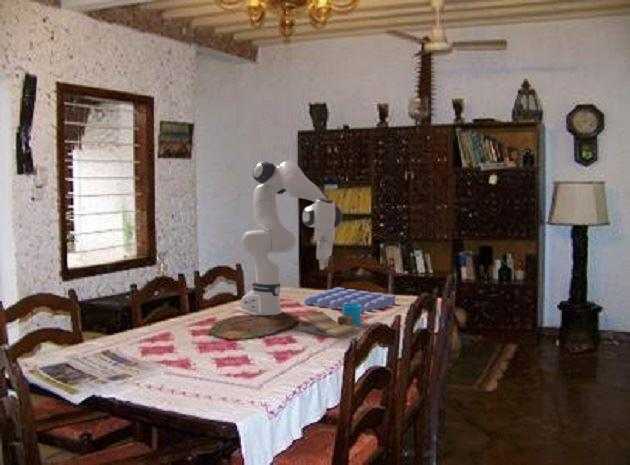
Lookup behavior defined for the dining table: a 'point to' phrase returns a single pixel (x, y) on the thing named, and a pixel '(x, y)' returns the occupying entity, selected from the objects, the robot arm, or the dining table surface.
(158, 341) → the dining table surface
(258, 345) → the dining table surface
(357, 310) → the mug
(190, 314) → the dining table surface
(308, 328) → the underlay
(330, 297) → the blue flat bumpy slab
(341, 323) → the block
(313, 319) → the tan flat slab
